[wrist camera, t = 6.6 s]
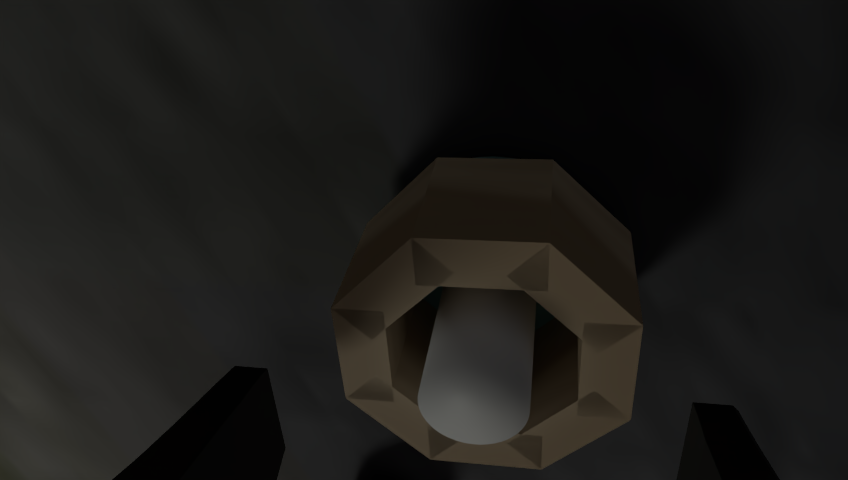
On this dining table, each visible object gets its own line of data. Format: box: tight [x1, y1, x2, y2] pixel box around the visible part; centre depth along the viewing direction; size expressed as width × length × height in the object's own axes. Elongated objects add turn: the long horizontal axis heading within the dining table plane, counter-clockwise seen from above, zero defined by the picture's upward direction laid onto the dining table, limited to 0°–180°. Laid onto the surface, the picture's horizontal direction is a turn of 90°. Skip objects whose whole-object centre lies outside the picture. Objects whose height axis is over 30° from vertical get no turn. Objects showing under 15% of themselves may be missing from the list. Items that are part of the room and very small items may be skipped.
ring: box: [331, 157, 643, 469], centre depth 15 cm, size 6×6×3 cm
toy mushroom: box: [418, 156, 555, 445], centre depth 15 cm, size 5×5×5 cm
